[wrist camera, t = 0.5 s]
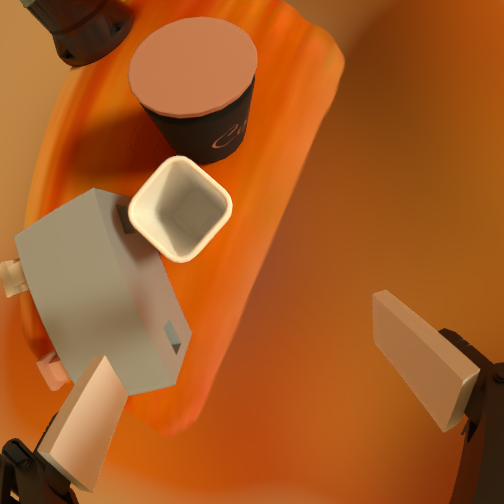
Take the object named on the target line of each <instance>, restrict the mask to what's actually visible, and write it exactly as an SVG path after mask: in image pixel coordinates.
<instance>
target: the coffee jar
mask: <svg viewBox="0 0 504 504" xmlns="http://www.w3.org/2000/svg"><path fill="white" fill-rule="evenodd" d="M257 65H258V63H257V49H256V48H255V46H254V44H253V42H252V40H251V38H250V37H249V35H248V34H246V33H245V32H244V31H243V30H242V29H240V28H239V27H238V26H237V25H234V24H232V23H230V22H227V21H225V20H222V19H217V18H210V17H195V18H186V19H182V20H179V21H176V22H173V23H170V24H167V25H165V26H163V27H162V28H160V29H158V30H157V31H155V32H153V33H152V34H150V35H149V36H148V37H147V38H146V39H145V40H144V41H143V42H142V43H141V44H140V45H139V46H138V48H137V50H136V51H135V53H134V55H133V57H132V59H131V61H130V66H129V72H128V80H129V84H130V87H131V91H132V93H133V94H134V95H135V96H136V98H137V99H138V100H139V101H140V104H141V105H142V107H143V108H144V109H145V111H146V112H147V113H148V115H149V116H150V118H151V119H152V120H153V122H154V123H155V124H156V126H157V127H158V128H159V130H160V131H161V132H162V134H163V135H164V136H165V138H166V139H167V140H168V142H169V143H170V144H171V146H172V147H173V148H174V150H175V151H176V152H177V153H178V154H179V155H180V156H185V157H186V158H188V159H190V160H192V161H193V162H197V163H214V162H216V161H219V160H222V159H224V158H226V157H228V156H229V155H230V154H232V153H233V152H234V151H236V149H237V148H238V147H239V145H240V144H241V142H242V141H243V138H244V135H245V132H246V127H247V121H248V116H249V110H250V104H251V99H252V93H253V88H254V82H255V70H256V68H257Z"/></svg>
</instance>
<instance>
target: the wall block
mask: <svg viewBox="0 0 504 504" xmlns="http://www.w3.org/2000/svg"><path fill="white" fill-rule="evenodd" d="M131 200H132V198H130V197H127V196H123V195H119V194H115V193H112V192H108V191H104V190H100V189H96V188H92V189H90V190H89V191H87V192H85V193H83V194H81V195H79V196H78V197H76V198H74V199H72V200H71V201H69V202H67V203H66V204H64V205H62V206H60V207H59V208H57V209H55V210H54V211H52V212H51V213H49V214H47V215H46V216H44V217H43V218H41V219H40V220H38V221H36V222H35V223H33V224H32V225H30V226H29V227H27V228H26V229H25V230H23V231H22V232H20V233H19V234H18V235H16V236H15V237H14V240H15V244H16V247H17V251H18V255H19V258H20V262H21V265H22V268H23V272H24V275H25V278H26V281H27V284H28V287H29V289H30V292H31V295H32V298H33V300H34V303H35V305H36V308H37V310H38V313H39V315H40V318H41V320H42V322H43V325H44V327H45V329H46V331H47V333H48V336H49V338H50V340H51V342H52V344H53V346H54V348H55V350H56V352H57V354H58V356H59V358H60V360H61V361H62V363H63V365H64V367H65V369H66V371H67V372H68V374H69V376H70V378H71V379H72V381H73V383H74V384H76V383H77V381H78V380H79V378H80V376H81V375H82V373H83V372H84V370H85V369H86V367H87V366H88V364H89V363H90V361H91V360H92V358H93V357H94V356H100V355H105V356H106V357H107V359H108V361H109V363H110V365H111V366H112V368H113V370H114V372H115V373H116V375H117V377H118V378H119V380H120V382H121V383H122V385H123V387H124V388H125V390H126V391H127V393H128V396H130V395H135V394H139V393H144V392H148V391H153V390H157V389H161V388H165V387H169V386H173V385H175V383H176V380H177V377H178V374H179V371H180V368H181V365H182V362H183V359H184V356H185V353H186V350H187V347H188V344H189V341H190V338H191V335H192V332H191V330H190V328H189V325H188V323H187V321H186V319H185V316H184V314H183V312H182V310H181V307H180V305H179V303H178V300H177V298H176V296H175V293H174V291H173V288H172V286H171V284H170V281H169V279H168V276H167V274H166V271H165V269H164V266H163V263H162V261H161V258H160V256H159V253H158V250H157V248H155V247H154V246H153V245H152V244H151V243H150V242H149V241H148V240H147V239H146V238H145V237H144V236H143V235H142V234H141V233H139V232H138V231H137V230H136V229H135V228H134V227H133V225H132V224H131V222H130V221H129V217H128V207H129V204H130V202H131Z"/></svg>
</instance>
